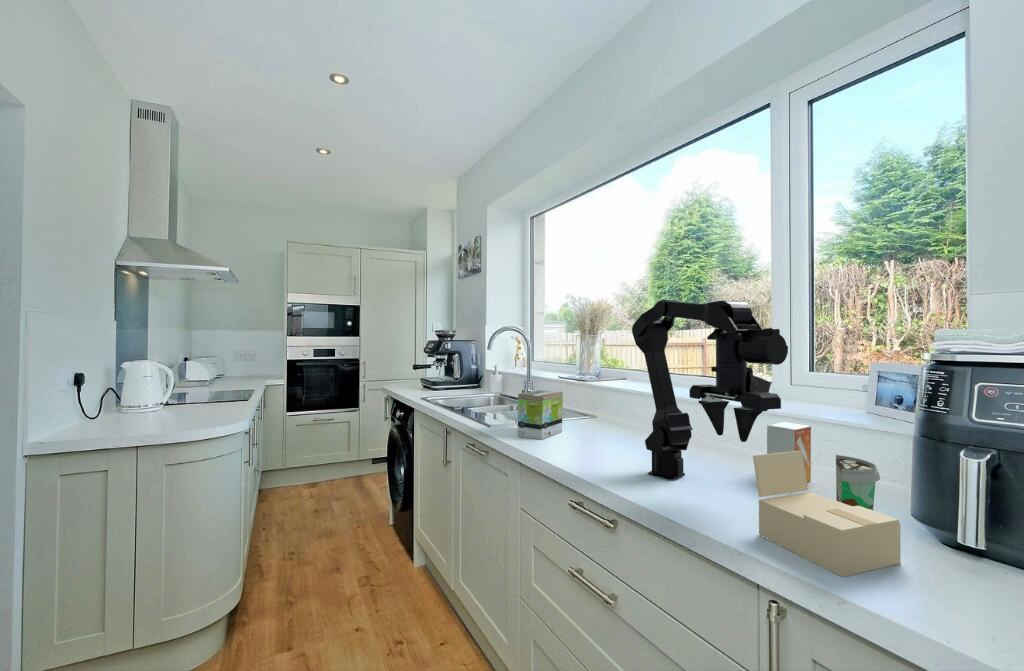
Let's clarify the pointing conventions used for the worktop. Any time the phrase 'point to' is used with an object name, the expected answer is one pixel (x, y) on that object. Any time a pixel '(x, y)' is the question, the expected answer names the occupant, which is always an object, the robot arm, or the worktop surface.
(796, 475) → the lid flap
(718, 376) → the robot arm
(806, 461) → the small box
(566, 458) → the worktop surface
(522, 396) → the tea box
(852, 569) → the carton
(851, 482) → the food container
